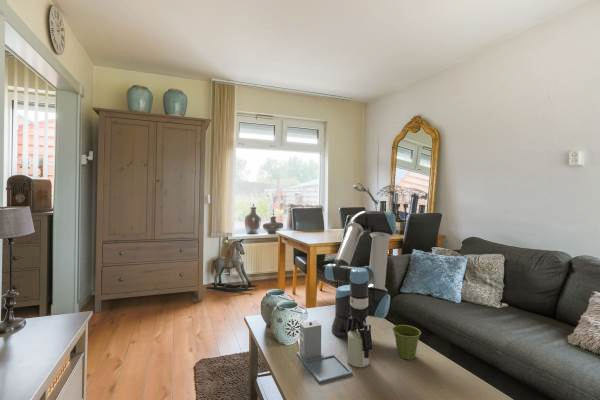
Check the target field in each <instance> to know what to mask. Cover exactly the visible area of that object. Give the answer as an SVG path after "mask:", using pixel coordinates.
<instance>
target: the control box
mask: <svg viewBox="0 0 600 400" xmlns="http://www.w3.org/2000/svg"><path fill="white" fill-rule="evenodd" d="M296 355H297V356H298V358H299V359H300V361H302V363H304V361H306V360H310V359H315V358H319V357H323V356H325V355H324V354H323V353H322V324H321V322H318V320H313V321H312V320H311V321H306V322H301V323H299V351H297V352H296Z"/></svg>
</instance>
